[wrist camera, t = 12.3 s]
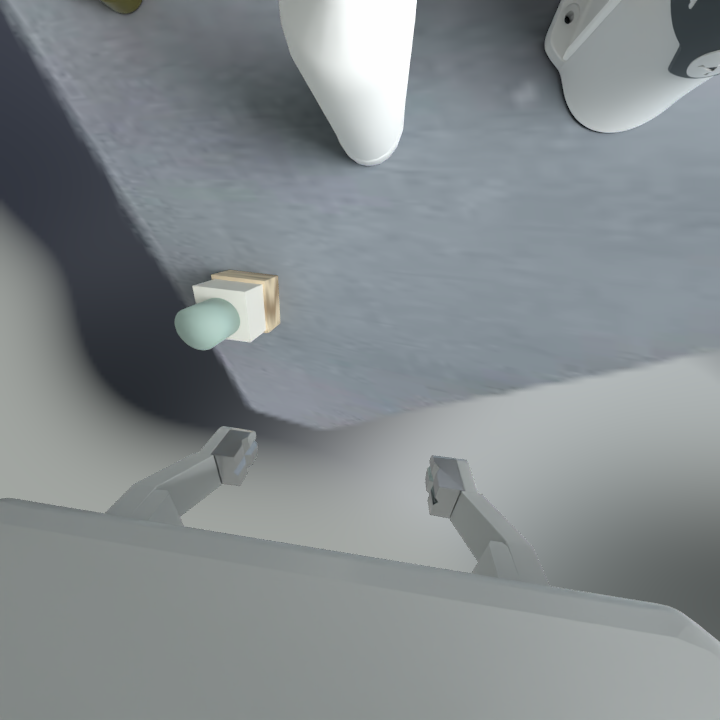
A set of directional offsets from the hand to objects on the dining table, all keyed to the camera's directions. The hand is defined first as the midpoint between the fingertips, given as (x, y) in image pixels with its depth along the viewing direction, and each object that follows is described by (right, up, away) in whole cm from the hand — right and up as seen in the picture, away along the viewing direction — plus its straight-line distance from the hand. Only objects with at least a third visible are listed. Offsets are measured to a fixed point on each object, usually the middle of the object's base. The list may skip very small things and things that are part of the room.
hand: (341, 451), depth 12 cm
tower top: (-17, +12, +27) cm, 34 cm away
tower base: (-17, +15, +31) cm, 38 cm away
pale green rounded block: (-18, +10, +23) cm, 30 cm away
